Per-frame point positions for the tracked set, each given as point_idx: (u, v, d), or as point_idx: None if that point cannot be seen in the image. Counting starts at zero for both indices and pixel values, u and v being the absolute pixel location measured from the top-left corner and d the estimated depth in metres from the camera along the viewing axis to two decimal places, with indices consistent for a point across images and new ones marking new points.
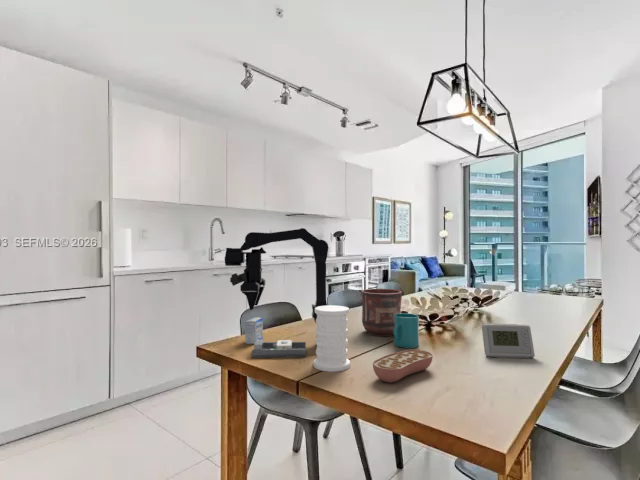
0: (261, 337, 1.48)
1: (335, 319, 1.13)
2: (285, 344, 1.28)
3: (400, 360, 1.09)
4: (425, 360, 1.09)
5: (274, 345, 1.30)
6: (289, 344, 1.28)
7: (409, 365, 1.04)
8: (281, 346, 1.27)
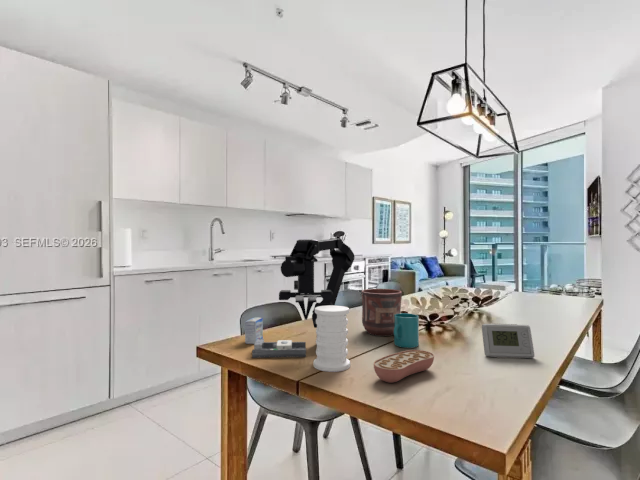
0: (261, 337, 1.48)
1: (335, 319, 1.13)
2: (285, 344, 1.28)
3: (401, 360, 1.08)
4: (426, 360, 1.09)
5: (274, 345, 1.30)
6: (289, 344, 1.28)
7: (410, 365, 1.04)
8: (281, 346, 1.27)
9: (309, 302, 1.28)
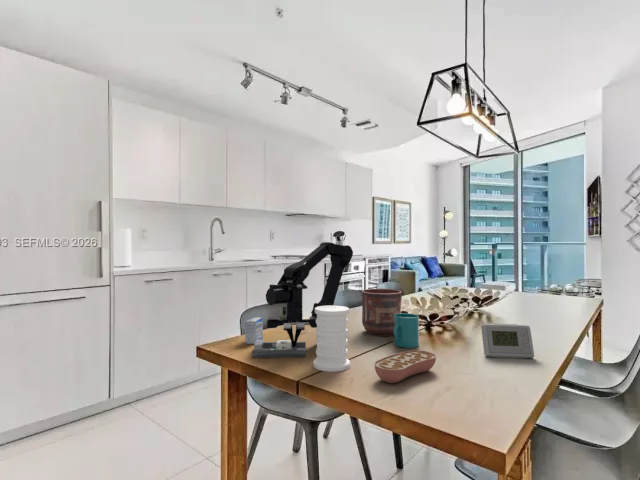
0: (261, 337, 1.48)
1: (335, 319, 1.13)
2: (285, 344, 1.28)
3: (402, 361, 1.08)
4: (428, 361, 1.08)
5: (274, 345, 1.30)
6: (289, 344, 1.28)
7: (411, 366, 1.04)
8: (281, 346, 1.27)
9: (297, 330, 1.28)
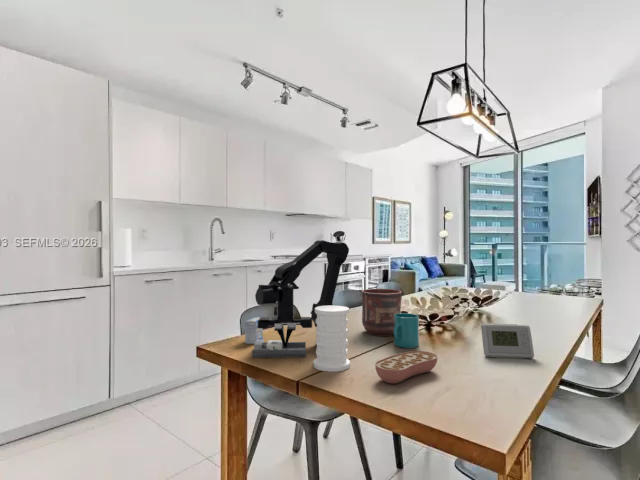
0: (261, 337, 1.48)
1: (335, 319, 1.13)
2: (275, 344, 1.28)
3: (403, 361, 1.08)
4: (429, 362, 1.08)
5: (264, 345, 1.30)
6: (279, 344, 1.28)
7: (412, 366, 1.03)
8: (271, 346, 1.27)
9: (288, 330, 1.28)
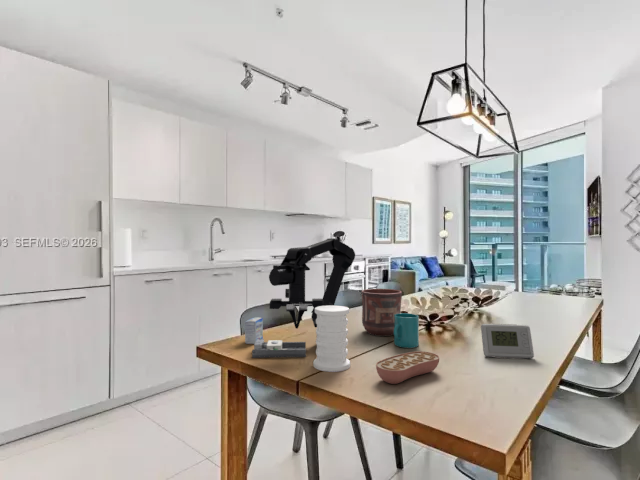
0: (261, 337, 1.48)
1: (335, 319, 1.13)
2: (275, 344, 1.28)
3: (405, 361, 1.07)
4: (431, 362, 1.07)
5: (264, 345, 1.30)
6: (279, 344, 1.28)
7: (413, 367, 1.03)
8: (271, 346, 1.27)
9: (300, 311, 1.28)
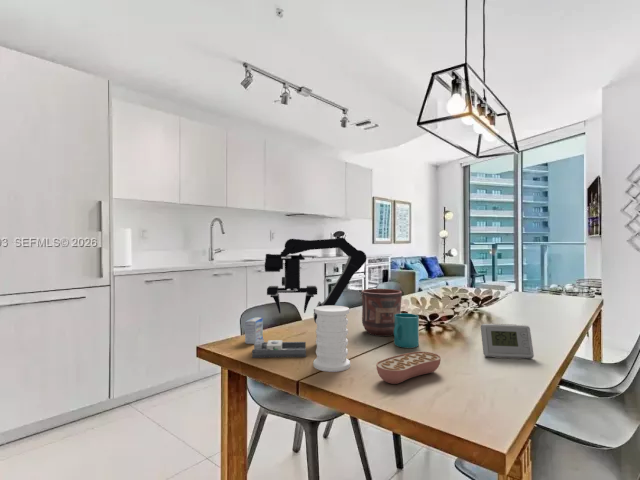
0: (261, 337, 1.48)
1: (335, 319, 1.13)
2: (275, 344, 1.28)
3: (406, 362, 1.07)
4: (432, 362, 1.07)
5: (264, 345, 1.30)
6: (279, 344, 1.28)
7: (413, 367, 1.03)
8: (271, 346, 1.27)
9: (307, 297, 1.38)
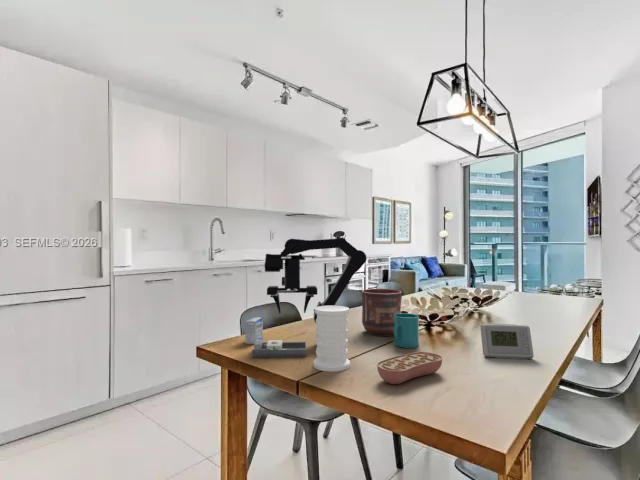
0: (261, 337, 1.48)
1: (335, 319, 1.13)
2: (275, 344, 1.28)
3: (407, 362, 1.07)
4: (433, 363, 1.07)
5: (264, 345, 1.30)
6: (279, 344, 1.28)
7: (414, 367, 1.02)
8: (271, 346, 1.27)
9: (307, 297, 1.38)
